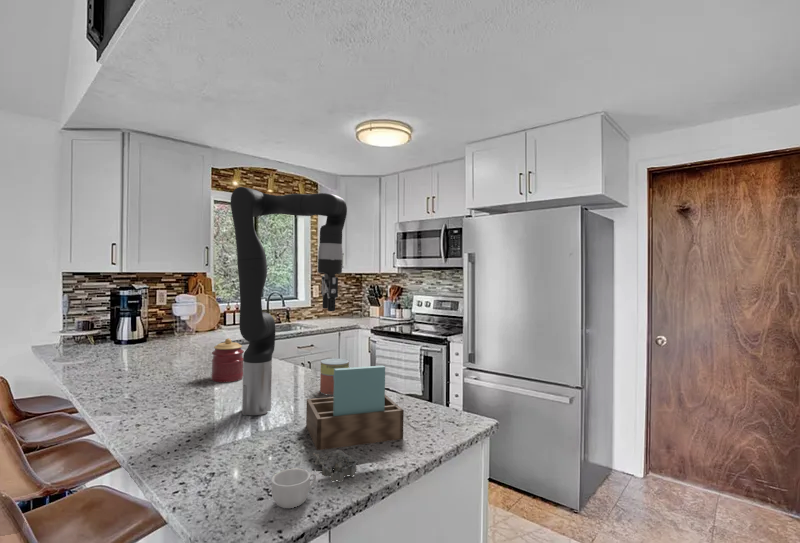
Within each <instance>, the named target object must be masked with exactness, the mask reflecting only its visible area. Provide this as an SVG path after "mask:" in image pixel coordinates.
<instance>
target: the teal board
mask: <svg viewBox="0 0 800 543" xmlns="http://www.w3.org/2000/svg"><path fill="white" fill-rule="evenodd" d="M385 391H386V366H384V365H373V366H372V365H371V366H370V365H369V366H354V367H349V368H337V369H334V395H333V396H332V397H333V416H340V415H350V414H359V413H369V412H378V411H384V408H385V395H386V393H385Z"/></svg>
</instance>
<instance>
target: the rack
mask: <svg viewBox="0 0 800 543" xmlns="http://www.w3.org/2000/svg"><path fill="white" fill-rule="evenodd" d="M333 397H334V396H329V397H320V398H319V397H317V398H307V399H306V412H305V413H306V415H305V417H306V423H305V424H306V428H307V431H308V433H309V436H310V438H311V440H312V443H313V444H314V446H315V450H316V451H321V450H329V449H336V448H345V447H351V446H359V445H367V444H368V445H369V444H374V443H375V444H377V443H383V442H389V441H397V440H398V441H399V440H403V439H404V418H405V417H404V415H405V414H404V413H405V412H404V409H403V408H402V407H401V406H400V405H399V404H397V403H396V402H395V401H394V400H392V399H391V398H390V396H388V395H386V394H385V408H384V411H378V412H369V413H359V414H350V415H340V416H333Z"/></svg>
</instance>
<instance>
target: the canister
mask: <svg viewBox="0 0 800 543" xmlns="http://www.w3.org/2000/svg"><path fill="white" fill-rule="evenodd" d="M242 347H243V345H242V344H241V343H238V342H236V341H235V342H234V341H233V342H232V339H231V338H226V339H225V341H224V342H220V343H218V344H216V345H215V346H214V347H213V348H214V350H213V351H211V355H212V360H211V375H210V376H211V380H212V382H215V383H232V382H237V381H241V380H243V355H244V352H245V351H244V350H243V349H242Z"/></svg>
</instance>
